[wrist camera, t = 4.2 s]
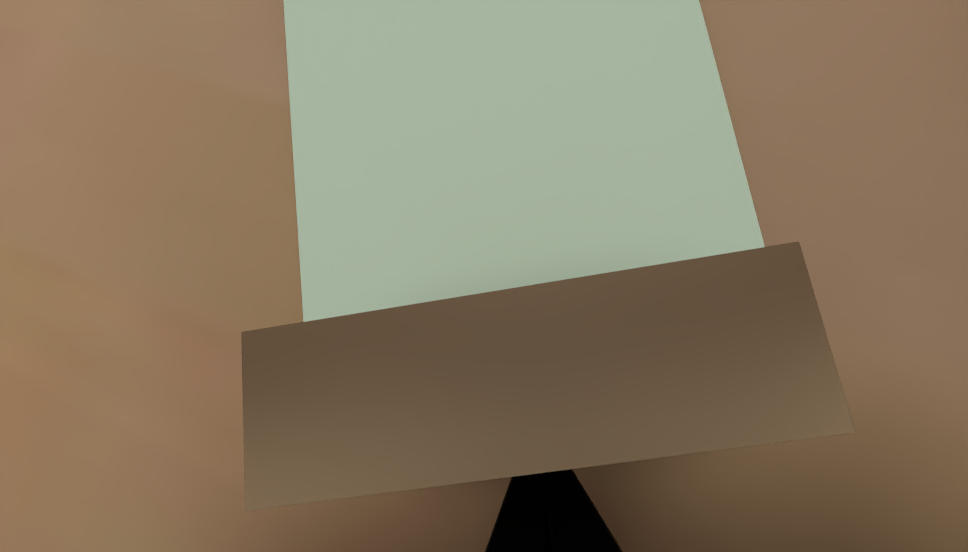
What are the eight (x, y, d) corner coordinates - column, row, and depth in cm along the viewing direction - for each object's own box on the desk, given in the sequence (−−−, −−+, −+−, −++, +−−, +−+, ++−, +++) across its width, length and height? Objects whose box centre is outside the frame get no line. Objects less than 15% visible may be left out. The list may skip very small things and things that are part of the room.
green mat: (767, 274, 16) (771, 272, 16) (309, 346, 17) (304, 346, 17) (665, -112, 19) (666, -120, 19) (285, -26, 21) (281, -32, 20)
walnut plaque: (690, 421, 15) (855, 432, 7) (413, 458, 16) (245, 511, 8) (671, 333, 16) (798, 241, 7) (405, 373, 17) (241, 331, 8)
